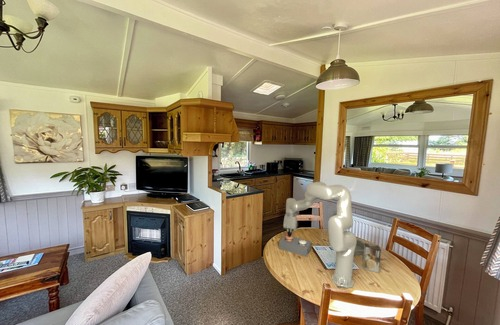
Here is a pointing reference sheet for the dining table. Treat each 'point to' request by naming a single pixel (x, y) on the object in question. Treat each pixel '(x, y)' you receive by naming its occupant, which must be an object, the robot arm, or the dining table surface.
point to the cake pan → (359, 248)
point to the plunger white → (302, 242)
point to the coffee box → (371, 257)
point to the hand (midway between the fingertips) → (289, 236)
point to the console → (295, 246)
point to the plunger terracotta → (289, 238)
